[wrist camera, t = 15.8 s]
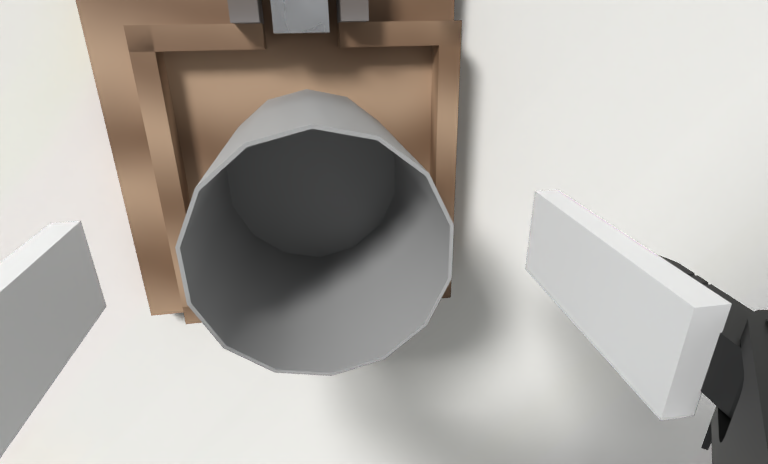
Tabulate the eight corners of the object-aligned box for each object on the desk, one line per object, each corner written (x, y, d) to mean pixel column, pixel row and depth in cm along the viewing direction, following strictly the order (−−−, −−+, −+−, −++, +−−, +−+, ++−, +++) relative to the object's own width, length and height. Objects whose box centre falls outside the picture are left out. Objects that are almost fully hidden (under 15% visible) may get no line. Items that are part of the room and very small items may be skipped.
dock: (78, -50, 20) (28, -71, 16) (446, -48, 22) (475, -65, 18) (159, 300, 26) (136, 343, 23) (437, 275, 29) (457, 309, 25)
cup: (214, 92, 21) (151, 131, 12) (393, 85, 22) (458, 117, 13) (240, 260, 25) (204, 391, 15) (395, 247, 26) (448, 361, 17)
